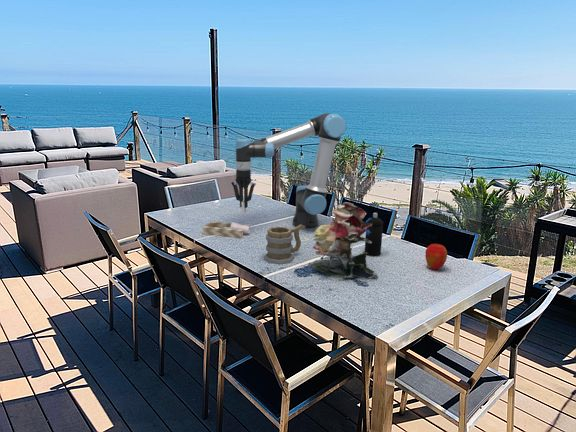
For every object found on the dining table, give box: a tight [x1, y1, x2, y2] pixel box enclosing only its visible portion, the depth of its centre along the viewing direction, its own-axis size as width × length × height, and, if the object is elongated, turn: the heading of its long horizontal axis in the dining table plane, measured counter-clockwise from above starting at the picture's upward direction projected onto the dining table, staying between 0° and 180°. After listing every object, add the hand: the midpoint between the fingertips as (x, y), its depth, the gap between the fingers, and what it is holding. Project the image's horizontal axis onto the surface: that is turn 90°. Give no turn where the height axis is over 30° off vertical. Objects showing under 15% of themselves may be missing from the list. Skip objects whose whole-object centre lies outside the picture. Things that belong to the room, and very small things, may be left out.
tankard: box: [264, 224, 306, 265], centre depth 201 cm, size 20×13×15 cm, turn 117°
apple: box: [425, 243, 448, 271], centre depth 191 cm, size 9×9×12 cm
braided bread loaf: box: [202, 220, 250, 239], centre depth 237 cm, size 22×12×4 cm, turn 75°
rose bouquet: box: [311, 201, 379, 282], centre depth 187 cm, size 26×29×30 cm
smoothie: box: [224, 221, 251, 235], centre depth 236 cm, size 6×6×14 cm
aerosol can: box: [363, 212, 384, 257], centre depth 208 cm, size 8×8×20 cm
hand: (243, 213), depth 232 cm, fingers closed
